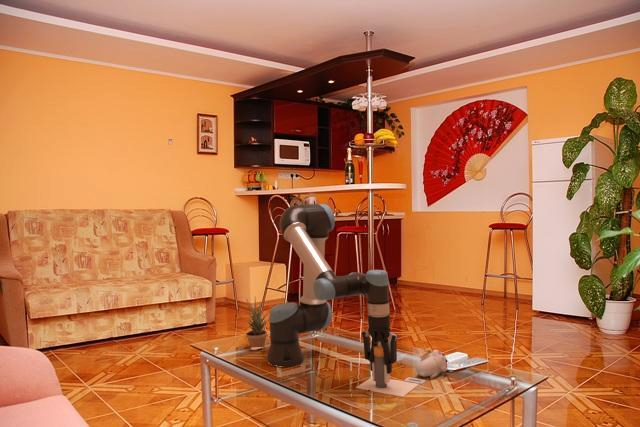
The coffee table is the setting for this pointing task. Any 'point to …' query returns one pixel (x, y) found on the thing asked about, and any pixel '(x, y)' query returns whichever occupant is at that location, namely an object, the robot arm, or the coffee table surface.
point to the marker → (379, 366)
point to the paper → (389, 387)
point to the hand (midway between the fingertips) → (381, 381)
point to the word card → (414, 380)
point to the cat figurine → (431, 364)
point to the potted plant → (256, 328)
